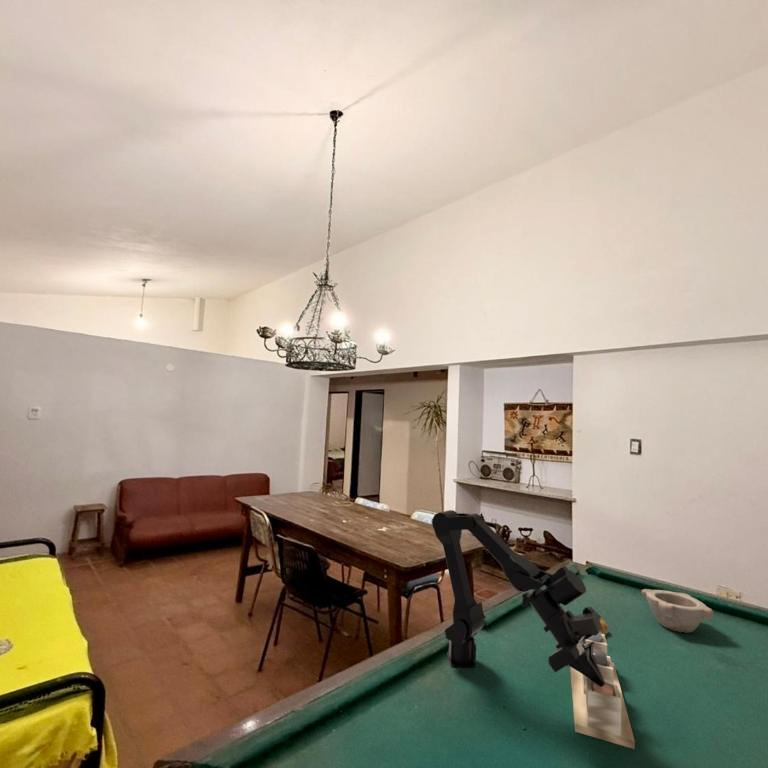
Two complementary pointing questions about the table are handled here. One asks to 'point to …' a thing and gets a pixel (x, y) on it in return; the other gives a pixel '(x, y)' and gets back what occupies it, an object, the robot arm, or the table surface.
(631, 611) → the table surface
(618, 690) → the button console
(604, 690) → the terracotta button
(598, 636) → the pale blue rounded knob
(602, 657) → the grey rounded piece
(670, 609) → the mortar
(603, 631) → the pastry
